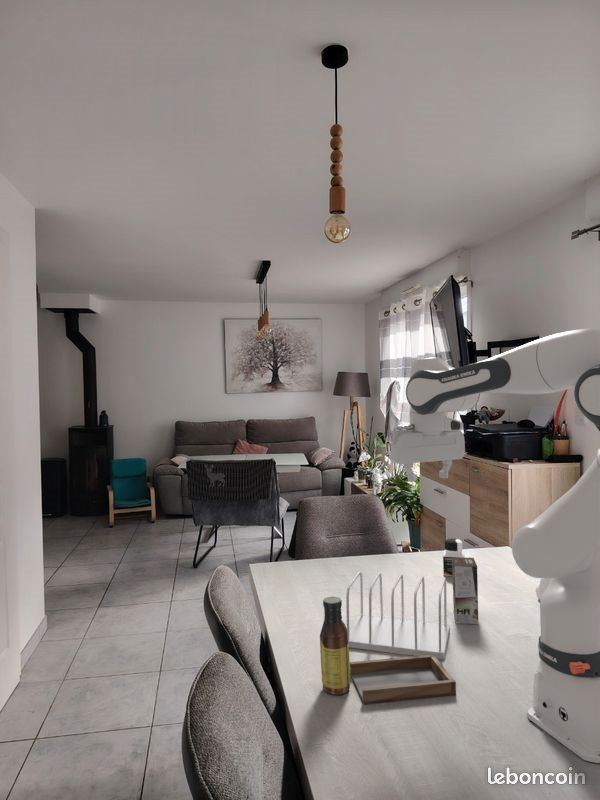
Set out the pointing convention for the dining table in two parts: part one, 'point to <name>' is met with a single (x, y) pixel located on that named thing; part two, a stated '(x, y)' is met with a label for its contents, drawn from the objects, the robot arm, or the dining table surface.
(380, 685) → the wooden tray
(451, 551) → the white plastic bottle
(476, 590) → the coffee box
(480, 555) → the dining table surface
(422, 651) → the file sorter
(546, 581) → the seated beast figurine
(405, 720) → the dining table surface
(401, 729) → the dining table surface
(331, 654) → the sauce bottle
